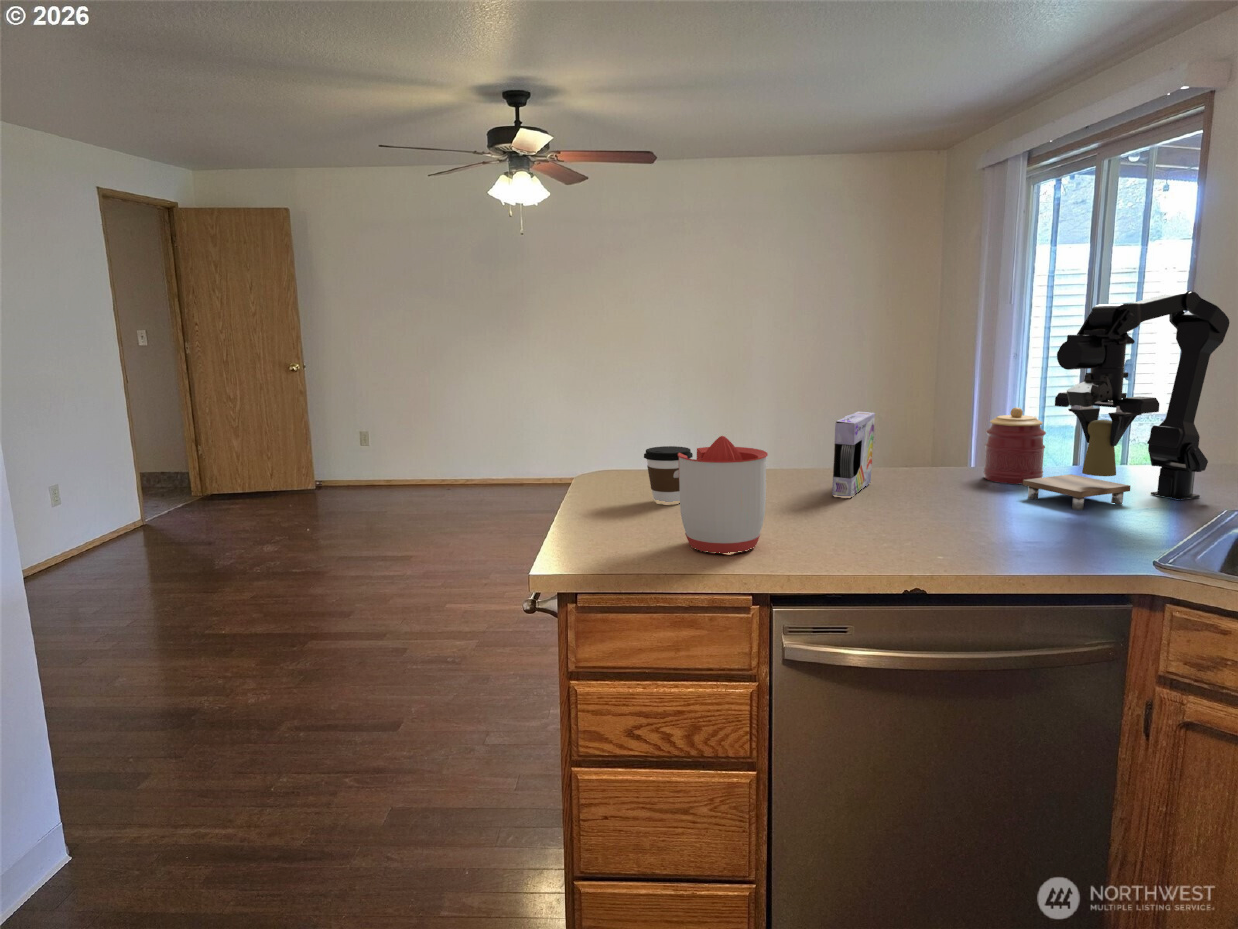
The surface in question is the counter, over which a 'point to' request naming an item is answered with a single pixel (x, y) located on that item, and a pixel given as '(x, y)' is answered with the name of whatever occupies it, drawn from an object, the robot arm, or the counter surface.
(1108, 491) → the shelf board
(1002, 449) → the canister
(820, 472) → the counter surface
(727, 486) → the citrus juicer
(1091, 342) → the robot arm
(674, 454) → the coffee cup
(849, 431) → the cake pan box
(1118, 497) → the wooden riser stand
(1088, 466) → the cork
